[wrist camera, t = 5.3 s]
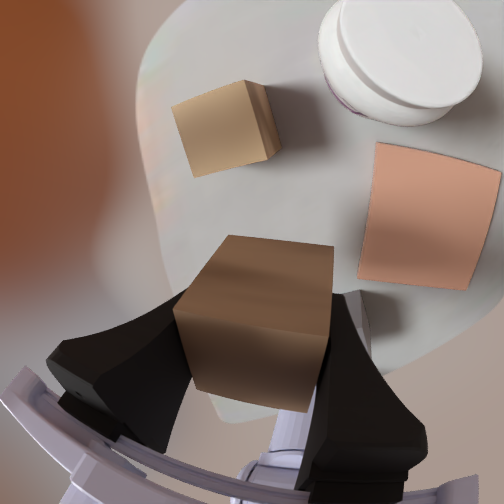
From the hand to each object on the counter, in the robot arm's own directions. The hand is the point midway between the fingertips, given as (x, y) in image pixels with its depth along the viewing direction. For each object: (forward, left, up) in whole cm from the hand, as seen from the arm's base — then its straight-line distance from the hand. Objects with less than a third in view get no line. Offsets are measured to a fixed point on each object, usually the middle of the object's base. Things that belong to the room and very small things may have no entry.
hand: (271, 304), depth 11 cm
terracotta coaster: (+2, -9, -8) cm, 12 cm away
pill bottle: (+10, -4, -8) cm, 13 cm away
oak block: (+7, +4, -8) cm, 11 cm away
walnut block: (0, 0, -1) cm, 1 cm away
